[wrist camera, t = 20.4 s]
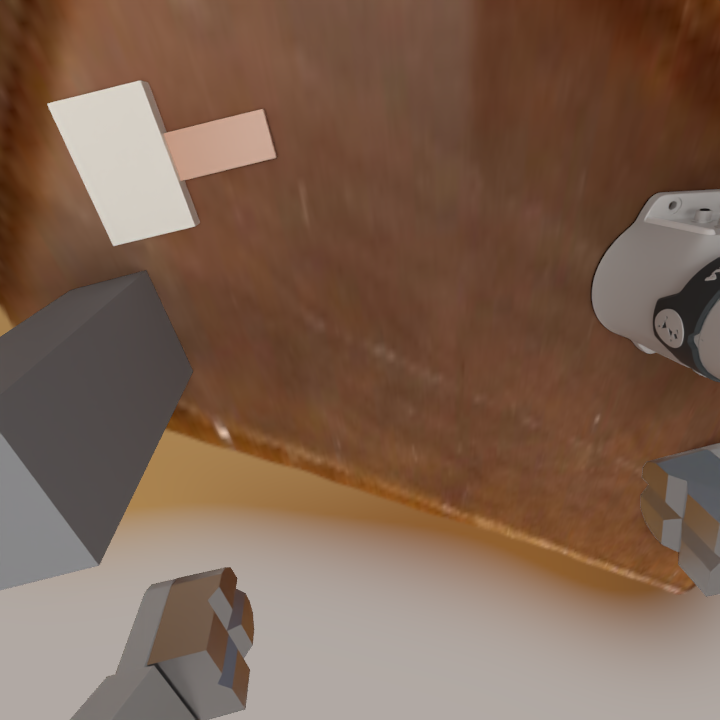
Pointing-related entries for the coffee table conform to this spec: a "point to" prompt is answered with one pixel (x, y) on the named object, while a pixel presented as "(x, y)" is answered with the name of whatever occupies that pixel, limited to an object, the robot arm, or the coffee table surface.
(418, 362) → the coffee table surface
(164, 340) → the carton
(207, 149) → the lid
